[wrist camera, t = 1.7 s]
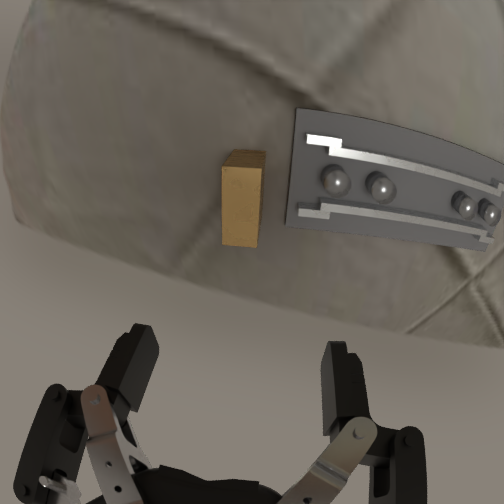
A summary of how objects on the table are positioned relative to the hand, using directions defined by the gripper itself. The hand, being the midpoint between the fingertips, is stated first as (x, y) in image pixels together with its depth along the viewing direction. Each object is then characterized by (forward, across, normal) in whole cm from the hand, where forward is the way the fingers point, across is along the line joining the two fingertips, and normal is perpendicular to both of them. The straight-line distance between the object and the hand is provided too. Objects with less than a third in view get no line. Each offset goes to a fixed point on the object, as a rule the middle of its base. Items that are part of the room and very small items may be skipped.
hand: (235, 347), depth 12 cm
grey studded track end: (+18, -23, -2) cm, 29 cm away
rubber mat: (+18, -17, -2) cm, 25 cm away
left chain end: (+18, -10, -2) cm, 20 cm away
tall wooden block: (+18, +2, -1) cm, 19 cm away
